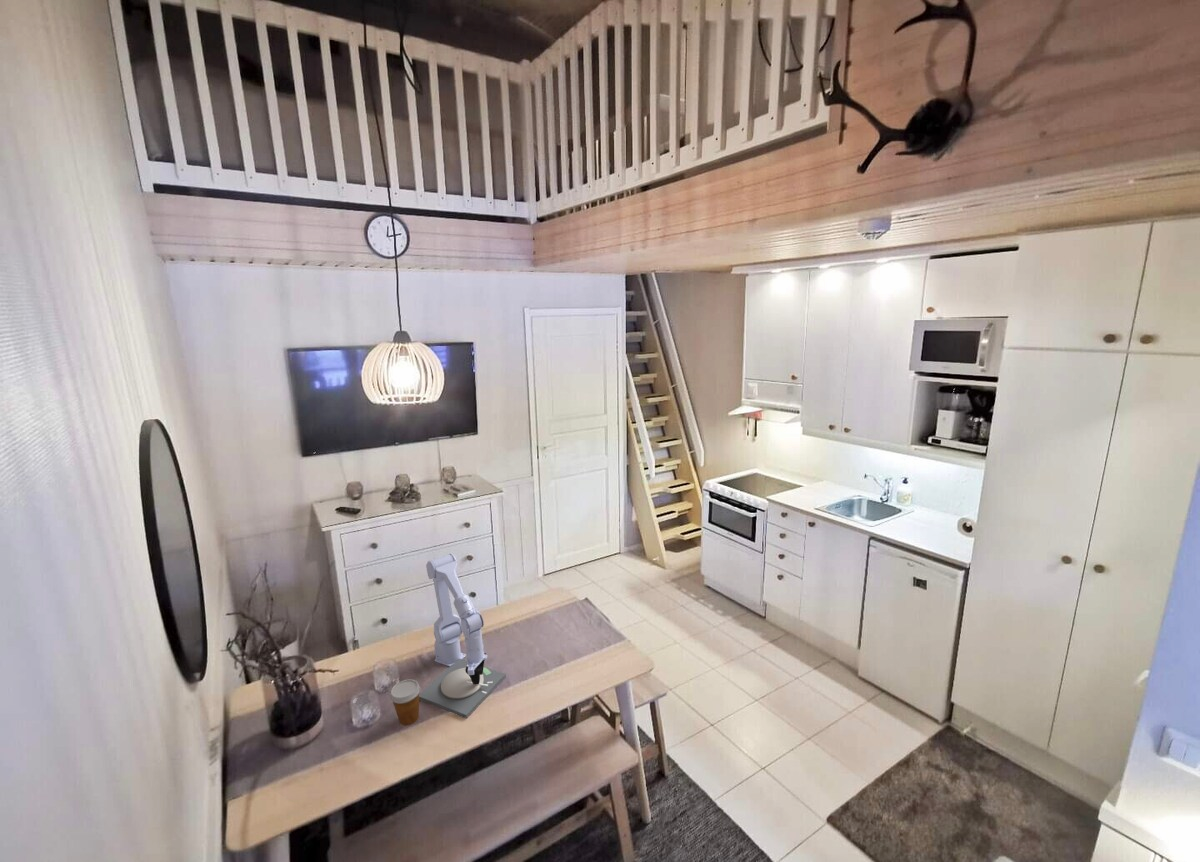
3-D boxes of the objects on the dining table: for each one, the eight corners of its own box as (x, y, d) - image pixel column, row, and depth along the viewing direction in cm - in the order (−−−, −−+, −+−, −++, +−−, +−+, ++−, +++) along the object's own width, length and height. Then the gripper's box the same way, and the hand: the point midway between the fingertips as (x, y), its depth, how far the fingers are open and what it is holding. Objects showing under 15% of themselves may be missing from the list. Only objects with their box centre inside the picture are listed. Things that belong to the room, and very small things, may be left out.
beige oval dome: (432, 695, 187) (430, 680, 186) (454, 667, 201) (452, 653, 200) (478, 703, 183) (476, 688, 181) (497, 674, 197) (496, 659, 195)
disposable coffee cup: (396, 734, 173) (391, 702, 170) (392, 714, 181) (387, 684, 179) (426, 722, 177) (422, 691, 175) (421, 704, 186) (417, 674, 183)
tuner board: (417, 699, 188) (417, 695, 188) (459, 661, 207) (459, 657, 207) (466, 718, 178) (466, 714, 178) (506, 677, 197) (505, 673, 197)
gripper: (480, 658, 181) (484, 693, 184) (490, 633, 195) (493, 665, 198) (460, 659, 181) (464, 693, 185) (471, 633, 195) (474, 665, 199)
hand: (477, 678), depth 192 cm, fingers open, 4 cm apart
